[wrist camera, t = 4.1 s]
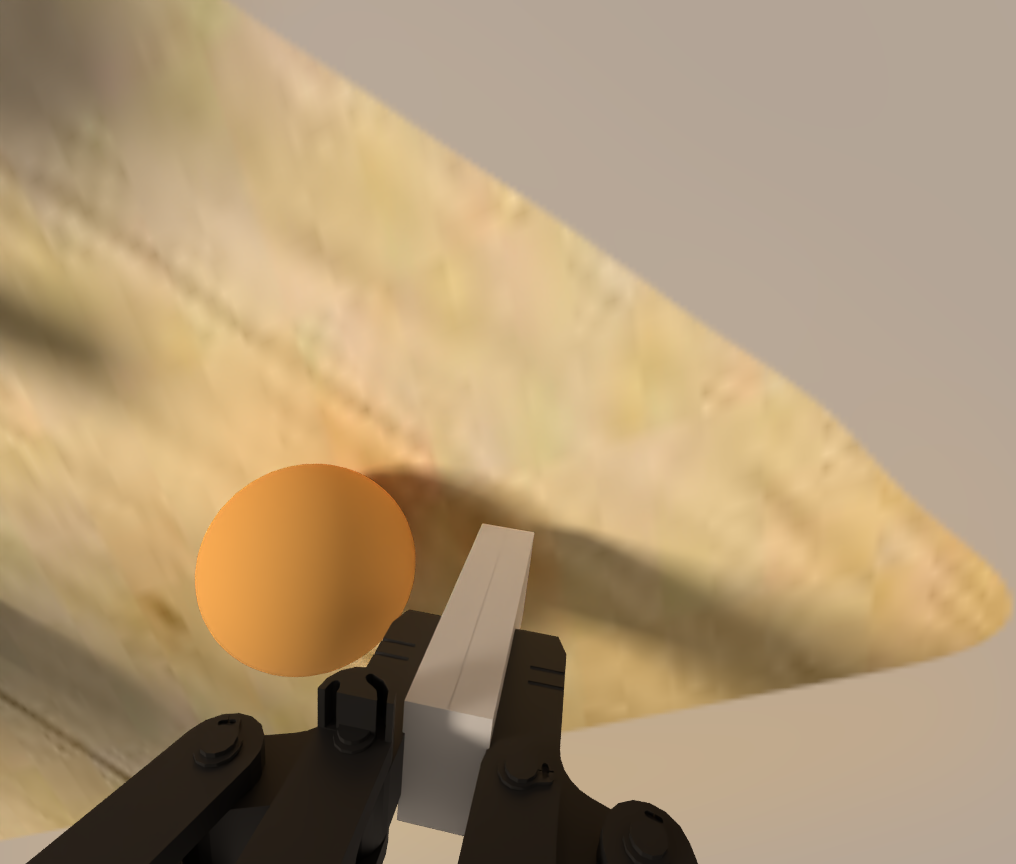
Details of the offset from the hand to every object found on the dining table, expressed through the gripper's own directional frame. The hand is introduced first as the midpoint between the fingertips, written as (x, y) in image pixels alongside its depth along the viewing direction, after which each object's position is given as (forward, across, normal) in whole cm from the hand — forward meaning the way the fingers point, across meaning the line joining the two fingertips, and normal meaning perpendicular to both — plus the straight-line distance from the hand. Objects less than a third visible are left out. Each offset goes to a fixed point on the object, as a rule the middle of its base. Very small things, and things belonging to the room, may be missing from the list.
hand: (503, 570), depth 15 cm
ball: (-1, +5, 0) cm, 5 cm away
